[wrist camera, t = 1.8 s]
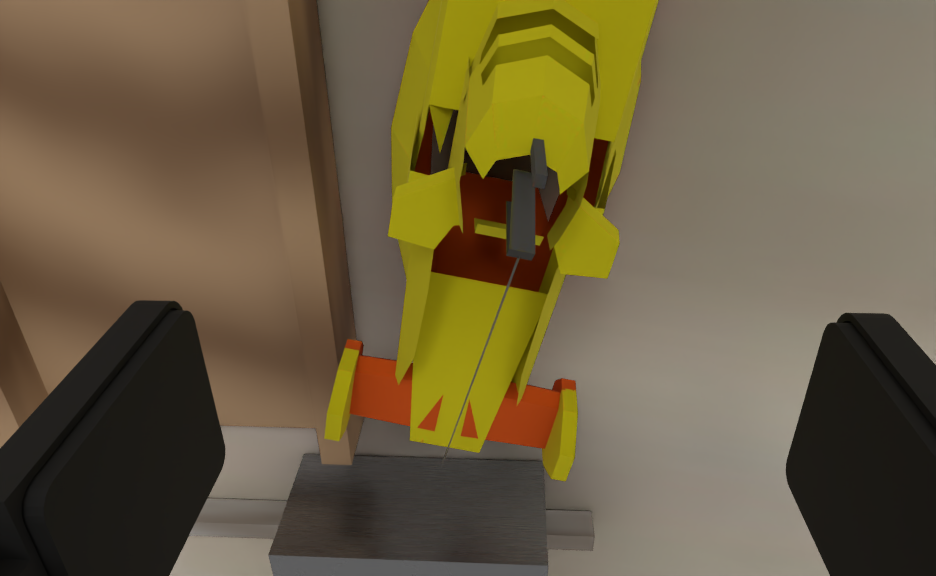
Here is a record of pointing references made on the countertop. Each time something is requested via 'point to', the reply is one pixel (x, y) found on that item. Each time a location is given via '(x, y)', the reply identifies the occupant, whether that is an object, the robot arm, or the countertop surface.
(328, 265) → the bay
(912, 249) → the countertop surface
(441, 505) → the grey rectangular block
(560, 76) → the toy boat
